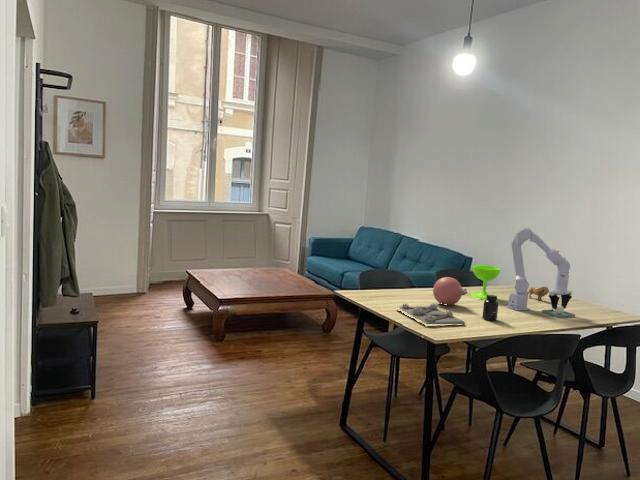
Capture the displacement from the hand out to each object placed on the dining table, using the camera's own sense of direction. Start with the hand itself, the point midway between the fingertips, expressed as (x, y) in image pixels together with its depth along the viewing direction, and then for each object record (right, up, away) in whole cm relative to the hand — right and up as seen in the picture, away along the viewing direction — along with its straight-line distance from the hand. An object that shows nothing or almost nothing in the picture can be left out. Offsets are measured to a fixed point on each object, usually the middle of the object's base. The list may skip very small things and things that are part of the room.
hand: (558, 308), depth 264 cm
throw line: (-1, -2, +8) cm, 8 cm away
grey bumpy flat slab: (-73, -2, -21) cm, 76 cm away
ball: (0, -3, 0) cm, 3 cm away
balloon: (-56, 0, +6) cm, 57 cm away
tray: (0, -3, 0) cm, 3 cm away
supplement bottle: (-43, -3, -17) cm, 46 cm away
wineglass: (-29, +2, +33) cm, 44 cm away
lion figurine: (+4, 0, +36) cm, 36 cm away
